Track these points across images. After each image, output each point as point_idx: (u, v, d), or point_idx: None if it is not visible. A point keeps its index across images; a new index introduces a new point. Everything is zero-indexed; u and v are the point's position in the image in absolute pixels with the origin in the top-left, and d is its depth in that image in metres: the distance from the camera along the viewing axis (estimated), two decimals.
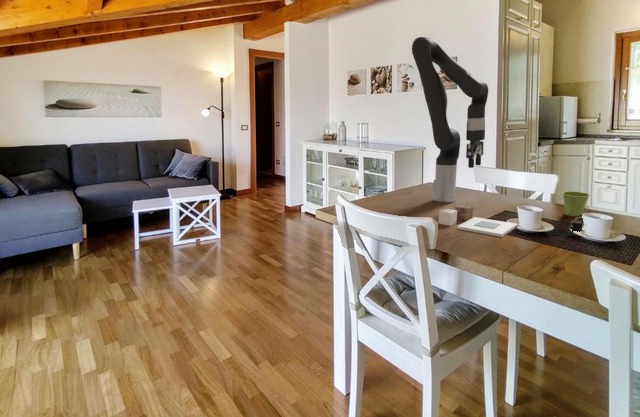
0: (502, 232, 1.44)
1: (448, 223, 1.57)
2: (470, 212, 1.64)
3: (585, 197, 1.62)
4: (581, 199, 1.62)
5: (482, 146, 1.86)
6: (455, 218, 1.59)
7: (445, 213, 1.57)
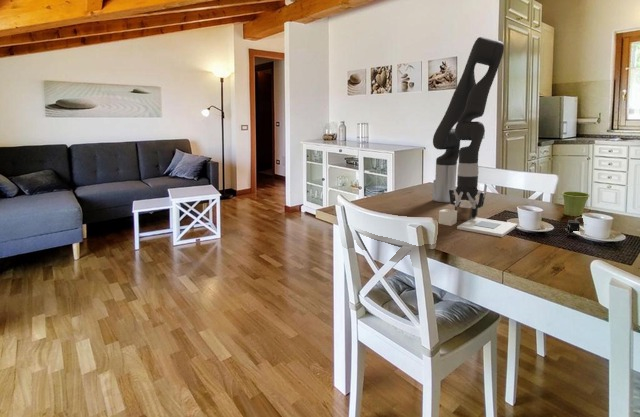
0: (502, 232, 1.44)
1: (448, 223, 1.57)
2: (471, 212, 1.64)
3: (585, 197, 1.62)
4: (581, 199, 1.62)
5: (454, 194, 1.68)
6: (455, 218, 1.59)
7: (445, 213, 1.57)
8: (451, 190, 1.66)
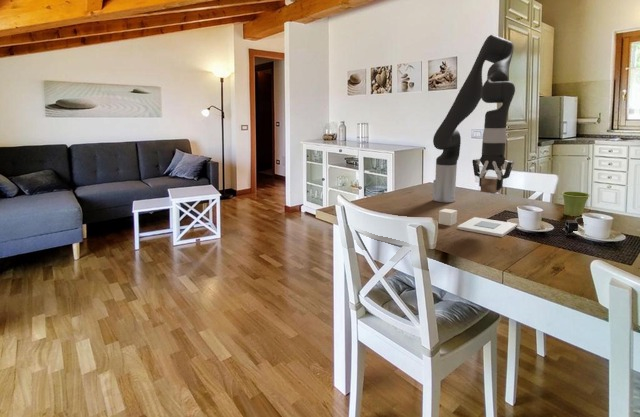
0: (502, 232, 1.44)
1: (448, 223, 1.57)
2: None
3: (585, 197, 1.62)
4: (581, 199, 1.62)
5: (478, 164, 1.52)
6: (455, 218, 1.59)
7: (445, 213, 1.57)
8: (475, 160, 1.50)
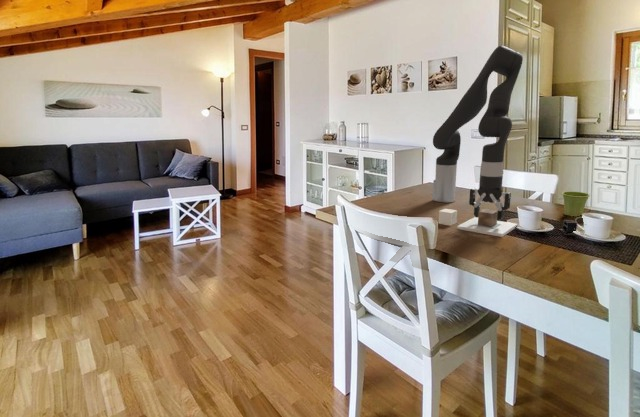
0: (502, 232, 1.44)
1: (448, 223, 1.57)
2: (495, 217, 1.51)
3: (585, 197, 1.62)
4: (581, 199, 1.62)
5: None
6: (455, 218, 1.59)
7: (445, 213, 1.57)
8: (472, 190, 1.53)
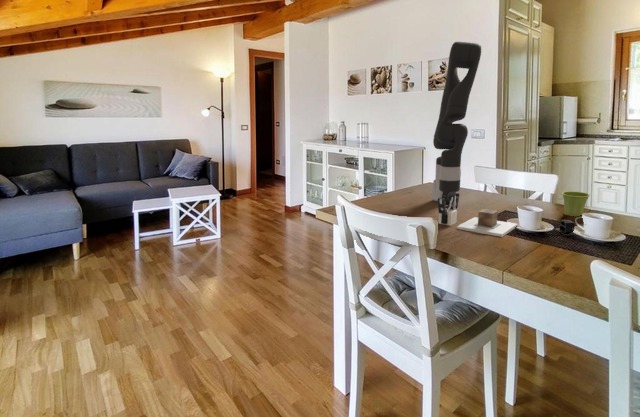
0: (502, 232, 1.44)
1: (448, 223, 1.57)
2: (495, 217, 1.51)
3: (585, 197, 1.62)
4: (581, 199, 1.62)
5: None
6: (455, 217, 1.59)
7: None
8: (445, 199, 1.53)
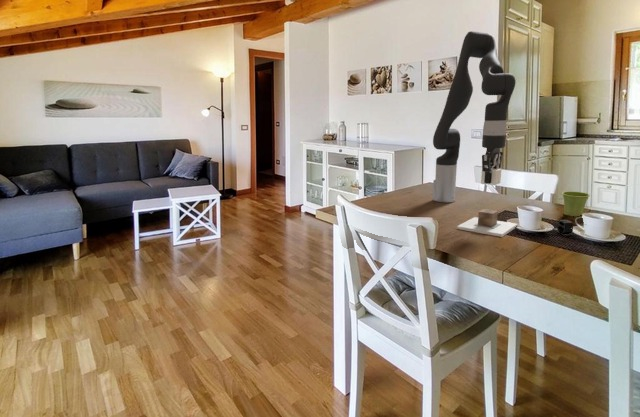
0: (502, 232, 1.44)
1: (492, 183, 1.47)
2: (495, 217, 1.51)
3: (585, 197, 1.62)
4: (581, 199, 1.62)
5: None
6: (499, 177, 1.48)
7: None
8: (490, 155, 1.42)
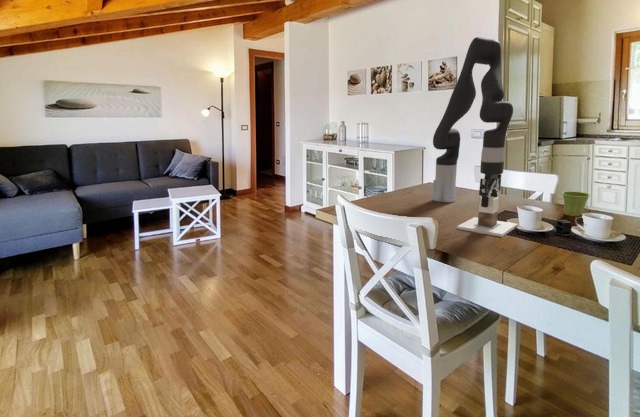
0: (502, 232, 1.44)
1: (490, 211, 1.49)
2: (495, 217, 1.51)
3: (585, 197, 1.62)
4: (581, 199, 1.62)
5: None
6: (497, 205, 1.51)
7: None
8: (488, 180, 1.44)
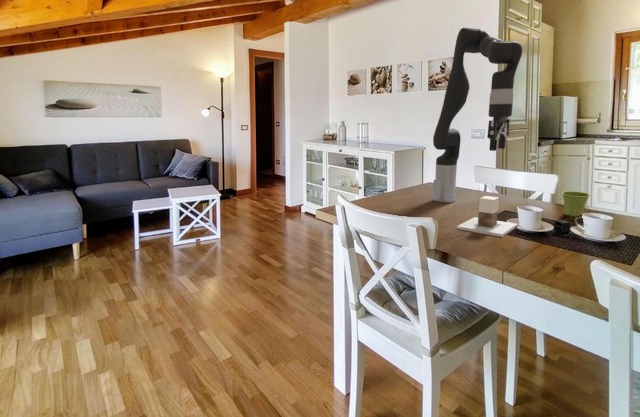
0: (502, 232, 1.44)
1: (490, 211, 1.49)
2: (495, 217, 1.51)
3: (585, 197, 1.62)
4: (581, 199, 1.62)
5: None
6: (497, 205, 1.51)
7: (487, 200, 1.49)
8: (497, 121, 1.42)
